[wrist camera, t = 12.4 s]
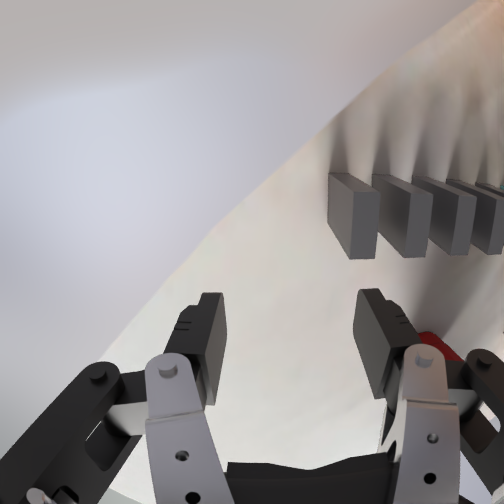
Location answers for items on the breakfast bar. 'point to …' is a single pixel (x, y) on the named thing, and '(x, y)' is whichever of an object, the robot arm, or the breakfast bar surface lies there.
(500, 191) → the domino
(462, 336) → the breakfast bar surface
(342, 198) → the domino
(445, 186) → the domino
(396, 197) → the domino
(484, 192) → the domino
